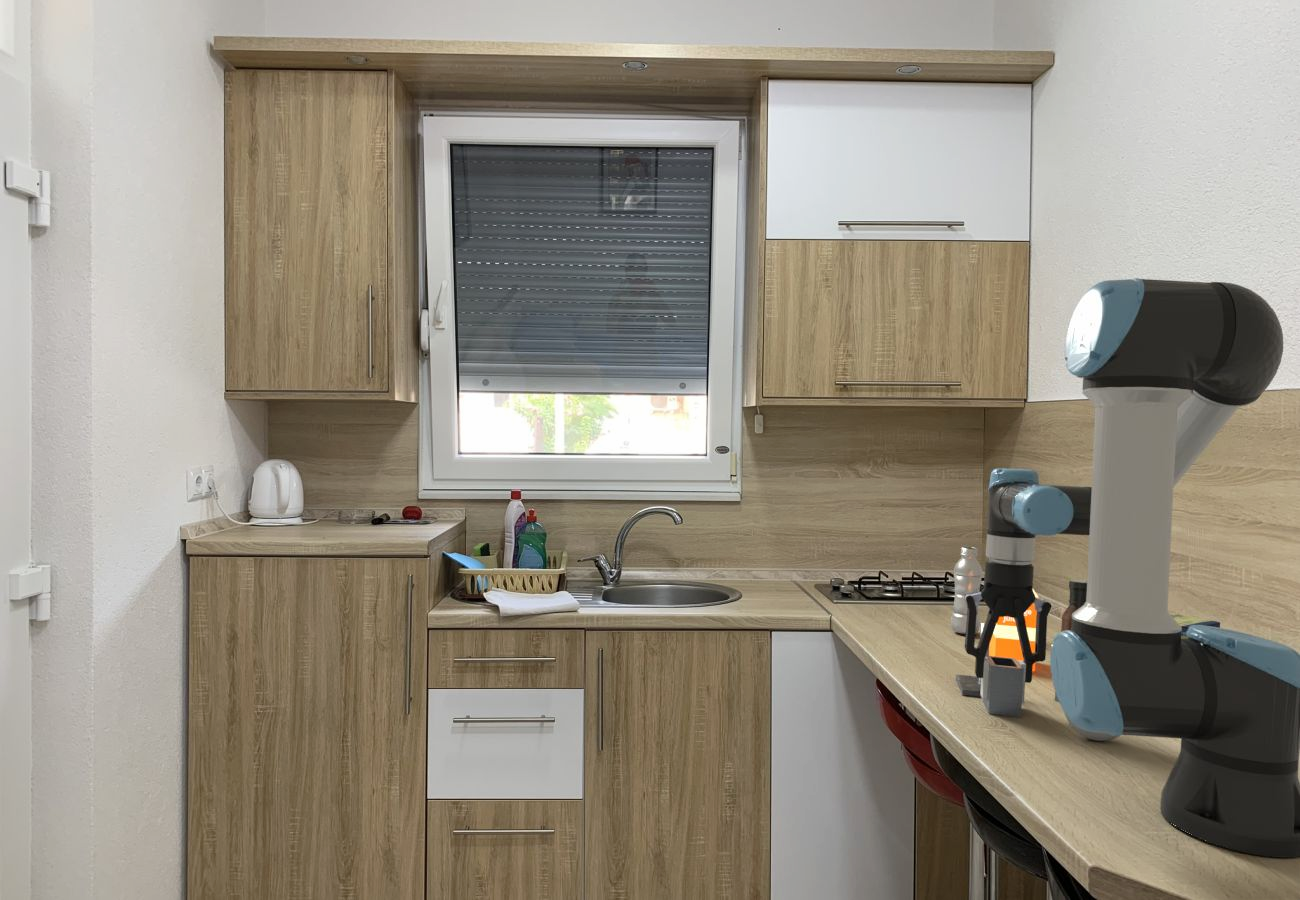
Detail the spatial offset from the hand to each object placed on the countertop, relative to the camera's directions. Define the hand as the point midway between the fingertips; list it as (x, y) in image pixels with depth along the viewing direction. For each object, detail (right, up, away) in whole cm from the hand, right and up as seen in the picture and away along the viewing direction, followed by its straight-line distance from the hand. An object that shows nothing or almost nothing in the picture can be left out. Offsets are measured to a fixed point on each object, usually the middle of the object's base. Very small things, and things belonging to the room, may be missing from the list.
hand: (1001, 698), depth 147 cm
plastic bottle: (+14, -1, +56) cm, 58 cm away
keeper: (+1, -2, +11) cm, 11 cm away
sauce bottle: (+20, -2, +15) cm, 25 cm away
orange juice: (+14, -2, +31) cm, 34 cm away
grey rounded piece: (+9, -3, -13) cm, 16 cm away
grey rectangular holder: (0, -2, 0) cm, 2 cm away
